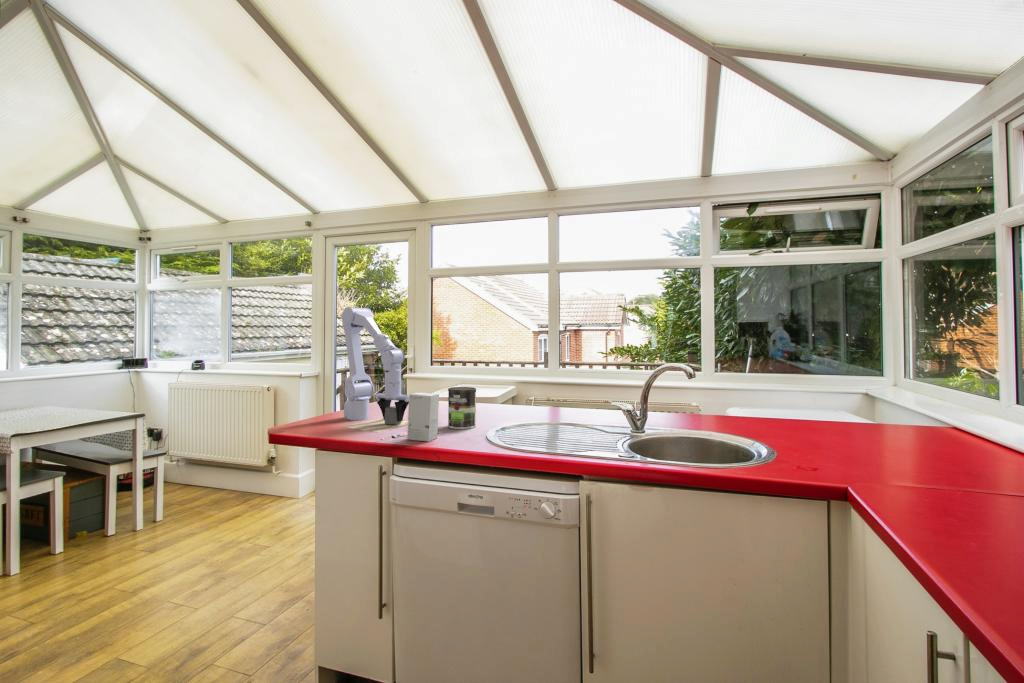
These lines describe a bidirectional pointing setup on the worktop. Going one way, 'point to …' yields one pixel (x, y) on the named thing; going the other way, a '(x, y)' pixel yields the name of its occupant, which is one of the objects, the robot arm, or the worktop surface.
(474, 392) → the coffee can
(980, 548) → the worktop surface
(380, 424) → the beige cloth
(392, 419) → the cap
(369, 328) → the robot arm
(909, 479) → the worktop surface
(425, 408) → the skincare box
